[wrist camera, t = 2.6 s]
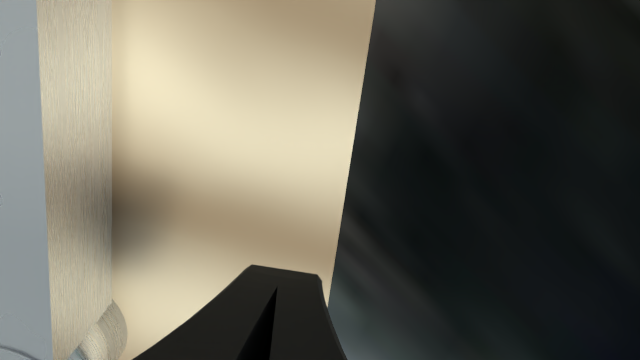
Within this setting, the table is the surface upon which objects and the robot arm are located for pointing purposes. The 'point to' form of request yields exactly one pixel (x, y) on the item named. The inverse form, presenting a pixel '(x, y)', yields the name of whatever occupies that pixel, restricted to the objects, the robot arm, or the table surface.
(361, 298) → the table surface
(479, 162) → the table surface
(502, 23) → the table surface
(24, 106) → the clear plastic container
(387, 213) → the table surface
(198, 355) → the robot arm
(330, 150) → the wooden cutting board
